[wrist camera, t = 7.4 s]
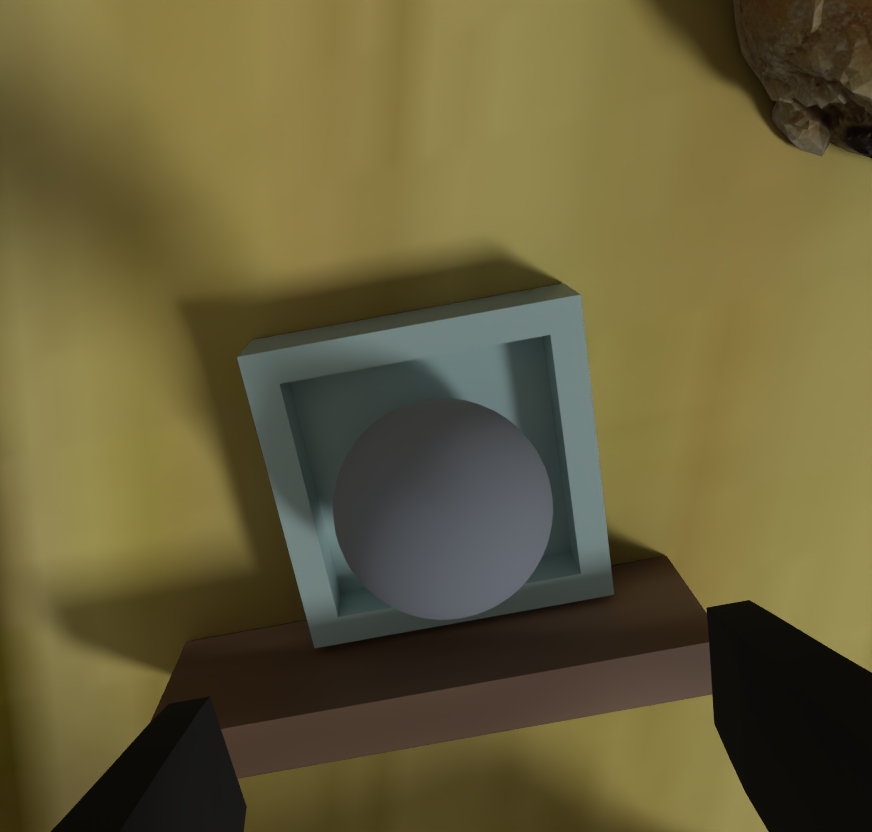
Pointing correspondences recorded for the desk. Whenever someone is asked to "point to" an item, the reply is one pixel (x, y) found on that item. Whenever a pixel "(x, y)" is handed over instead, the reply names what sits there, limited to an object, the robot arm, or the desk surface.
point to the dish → (413, 381)
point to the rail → (449, 675)
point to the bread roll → (813, 68)
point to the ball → (442, 508)
